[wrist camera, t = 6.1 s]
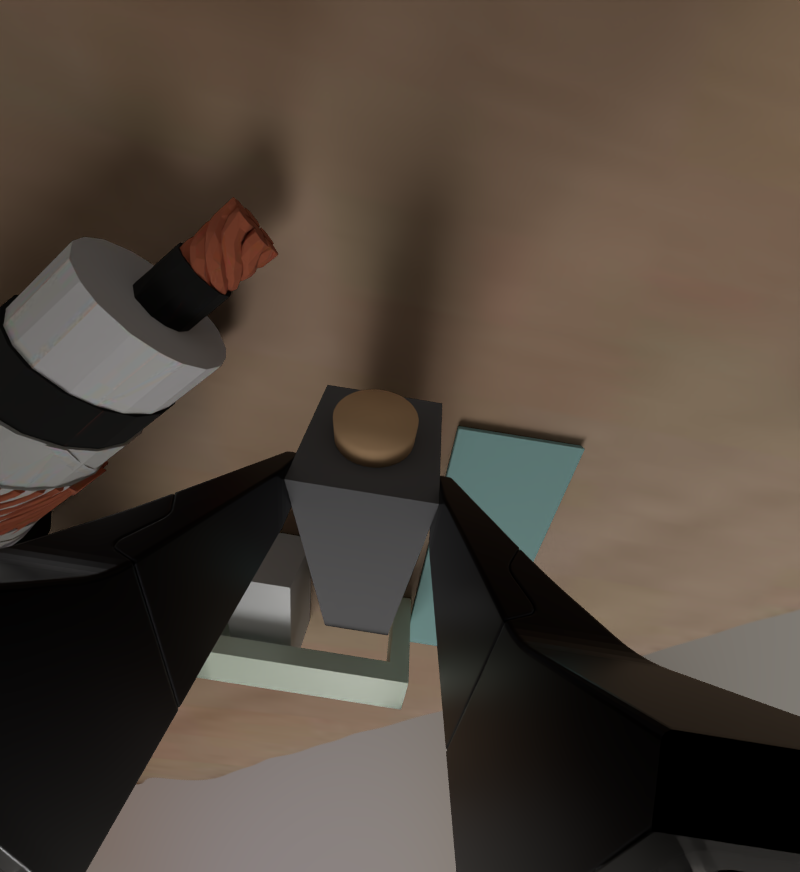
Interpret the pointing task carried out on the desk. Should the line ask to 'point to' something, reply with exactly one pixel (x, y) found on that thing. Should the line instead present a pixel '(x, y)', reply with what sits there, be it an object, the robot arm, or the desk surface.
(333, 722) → the desk surface
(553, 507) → the mat
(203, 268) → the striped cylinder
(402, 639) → the light grey piece
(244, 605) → the block
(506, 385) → the desk surface
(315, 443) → the dark gray bar
